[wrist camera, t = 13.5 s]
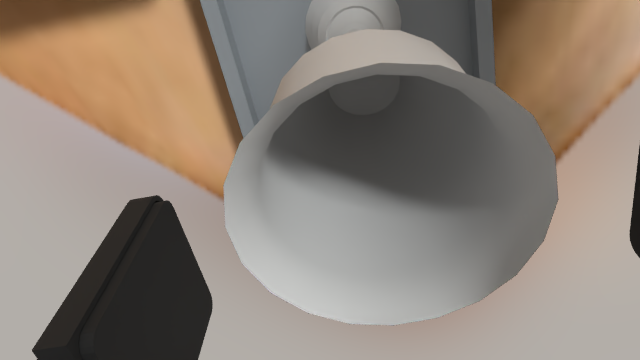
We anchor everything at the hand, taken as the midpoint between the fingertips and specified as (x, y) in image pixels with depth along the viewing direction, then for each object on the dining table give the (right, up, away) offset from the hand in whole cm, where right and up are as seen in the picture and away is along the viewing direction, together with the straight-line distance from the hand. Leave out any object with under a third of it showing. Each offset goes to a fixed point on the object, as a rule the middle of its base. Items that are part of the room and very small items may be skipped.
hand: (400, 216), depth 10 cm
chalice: (0, +9, +17) cm, 19 cm away
